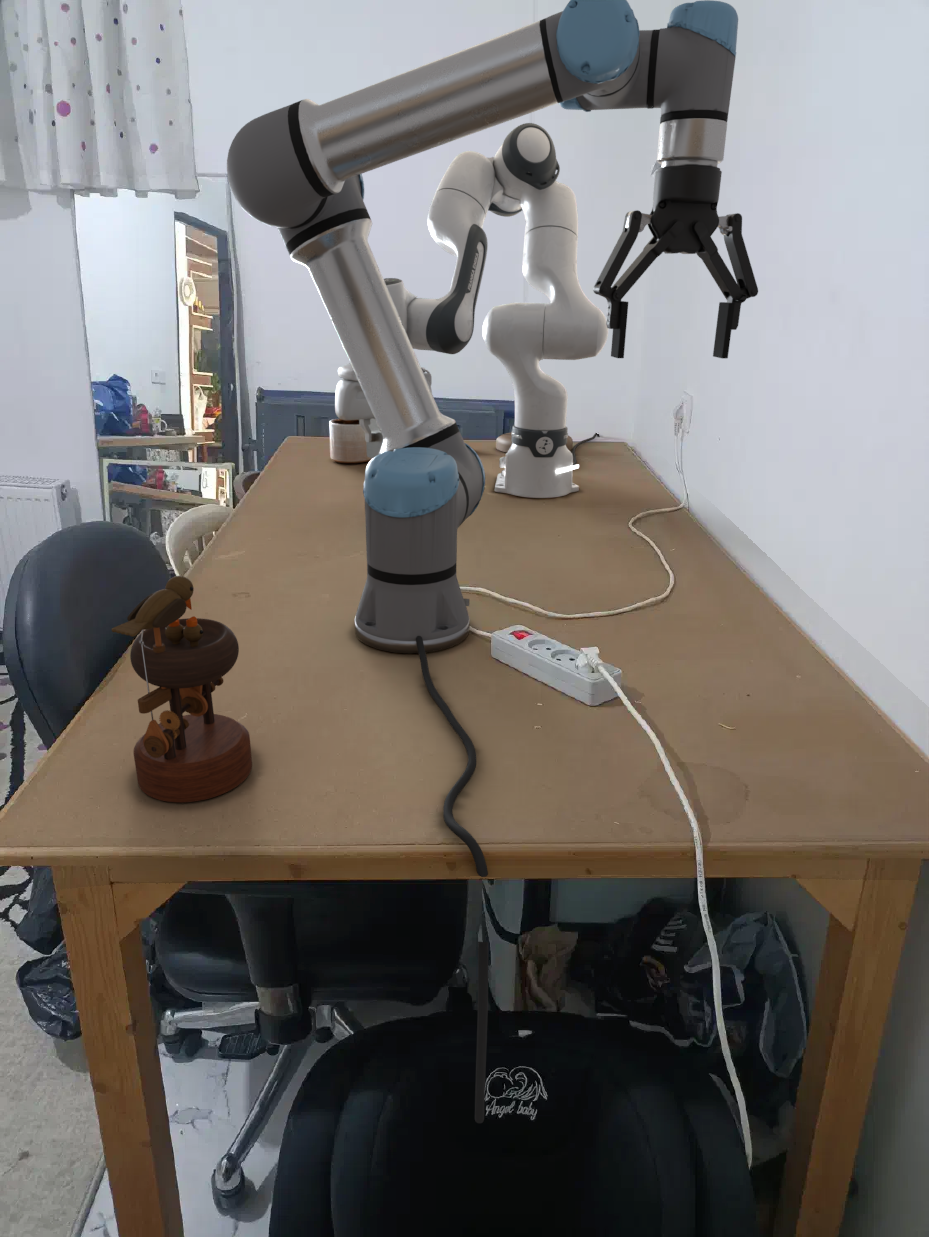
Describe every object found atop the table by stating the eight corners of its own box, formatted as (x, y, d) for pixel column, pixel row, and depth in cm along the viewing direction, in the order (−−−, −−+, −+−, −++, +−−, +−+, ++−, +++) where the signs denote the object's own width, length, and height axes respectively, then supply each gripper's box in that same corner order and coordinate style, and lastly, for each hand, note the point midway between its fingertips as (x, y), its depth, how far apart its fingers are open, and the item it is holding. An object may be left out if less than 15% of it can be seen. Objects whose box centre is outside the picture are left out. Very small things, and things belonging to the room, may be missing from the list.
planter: (327, 456, 217) (325, 418, 214) (369, 454, 220) (368, 417, 217) (334, 465, 208) (332, 425, 204) (377, 463, 211) (376, 424, 207)
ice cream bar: (502, 464, 212) (503, 447, 210) (493, 443, 238) (494, 428, 236) (585, 464, 213) (587, 448, 211) (568, 443, 239) (569, 428, 237)
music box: (228, 817, 74) (184, 604, 66) (110, 816, 75) (54, 607, 68) (282, 730, 88) (250, 546, 80) (182, 730, 89) (142, 549, 82)
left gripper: (773, 173, 103) (748, 354, 111) (575, 166, 99) (564, 354, 107) (805, 166, 96) (776, 360, 104) (595, 158, 93) (581, 360, 101)
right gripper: (423, 365, 171) (423, 434, 176) (330, 368, 161) (332, 441, 166) (439, 368, 166) (438, 439, 171) (344, 371, 156) (346, 446, 161)
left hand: (669, 357), depth 106 cm, fingers open, 13 cm apart
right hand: (385, 440), depth 169 cm, fingers closed on bar, 5 cm apart
